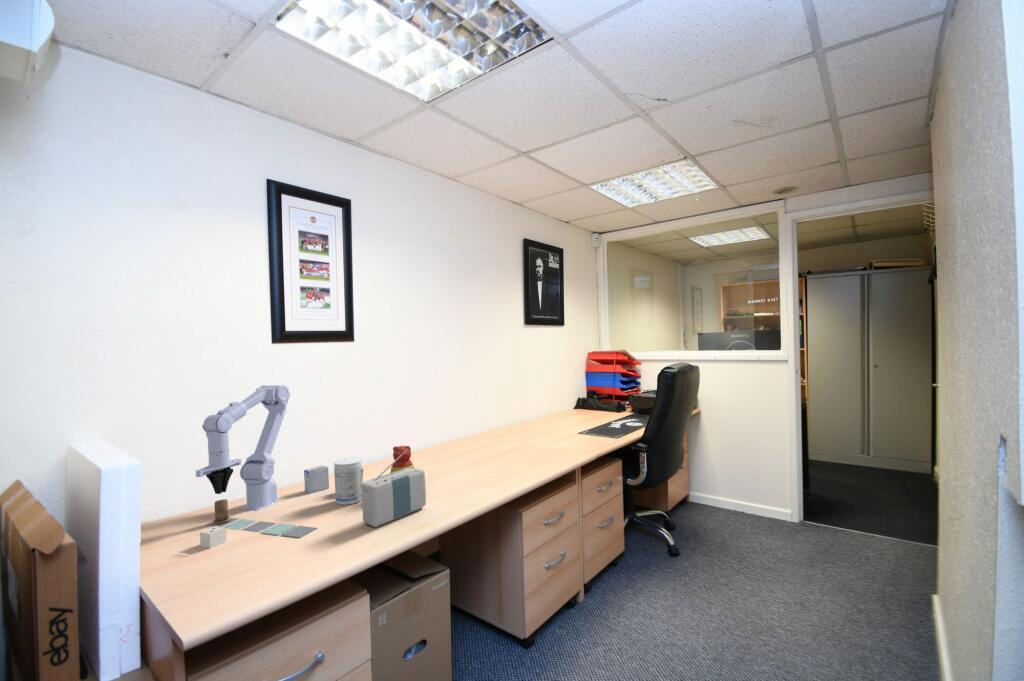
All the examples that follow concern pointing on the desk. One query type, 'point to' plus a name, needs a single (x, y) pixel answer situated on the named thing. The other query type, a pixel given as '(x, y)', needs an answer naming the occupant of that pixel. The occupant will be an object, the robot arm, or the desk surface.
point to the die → (212, 537)
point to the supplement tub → (348, 480)
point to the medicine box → (316, 479)
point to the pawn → (221, 512)
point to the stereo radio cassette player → (393, 495)
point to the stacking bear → (401, 458)
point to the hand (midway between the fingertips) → (220, 492)
